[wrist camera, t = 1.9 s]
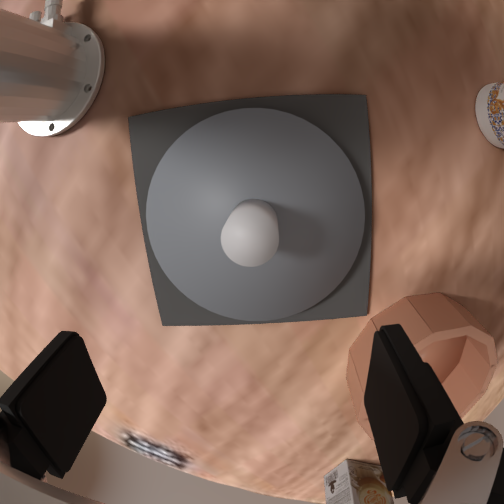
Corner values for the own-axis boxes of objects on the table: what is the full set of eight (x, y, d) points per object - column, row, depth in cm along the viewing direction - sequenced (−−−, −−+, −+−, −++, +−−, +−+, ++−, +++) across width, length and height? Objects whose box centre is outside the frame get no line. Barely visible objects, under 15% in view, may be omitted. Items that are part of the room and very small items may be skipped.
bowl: (352, 301, 30) (371, 341, 24) (479, 286, 29) (513, 315, 22) (341, 411, 35) (350, 453, 29) (450, 390, 34) (469, 424, 28)
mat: (129, 117, 26) (128, 117, 25) (364, 95, 24) (366, 94, 24) (163, 323, 32) (162, 325, 32) (365, 313, 31) (366, 315, 30)
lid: (138, 125, 26) (106, 122, 20) (356, 105, 24) (379, 95, 18) (169, 317, 32) (150, 352, 26) (358, 307, 30) (374, 343, 24)
